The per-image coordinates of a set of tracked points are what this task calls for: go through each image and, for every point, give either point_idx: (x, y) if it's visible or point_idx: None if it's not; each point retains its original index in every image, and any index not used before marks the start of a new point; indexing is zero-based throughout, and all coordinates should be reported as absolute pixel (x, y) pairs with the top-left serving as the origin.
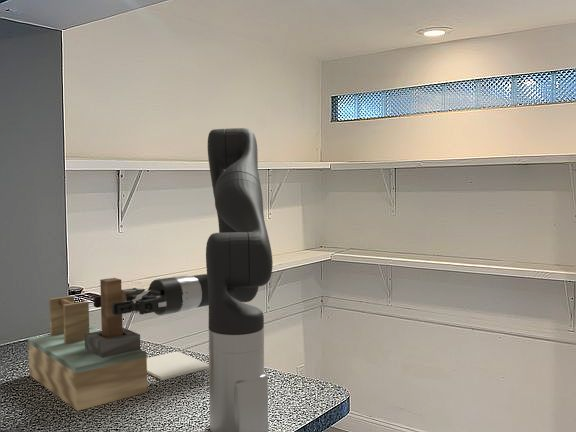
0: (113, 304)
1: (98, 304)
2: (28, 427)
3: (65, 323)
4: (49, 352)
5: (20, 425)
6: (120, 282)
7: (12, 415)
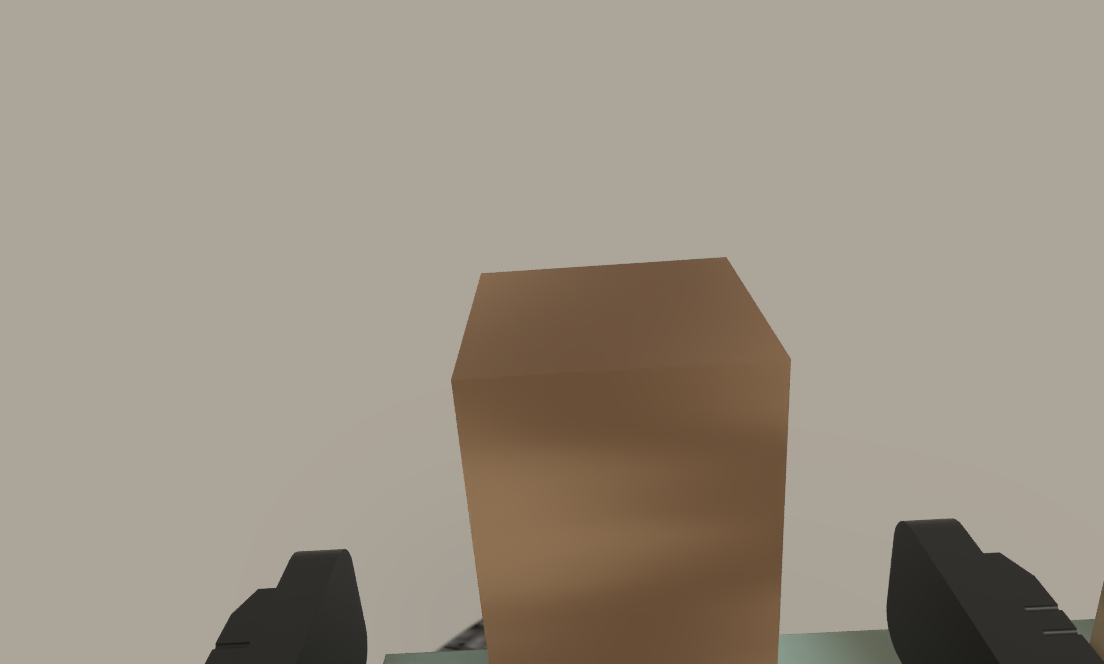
0: (314, 551)
1: (903, 630)
2: (437, 650)
3: (1096, 620)
4: (856, 637)
5: (480, 635)
6: (460, 423)
7: None
